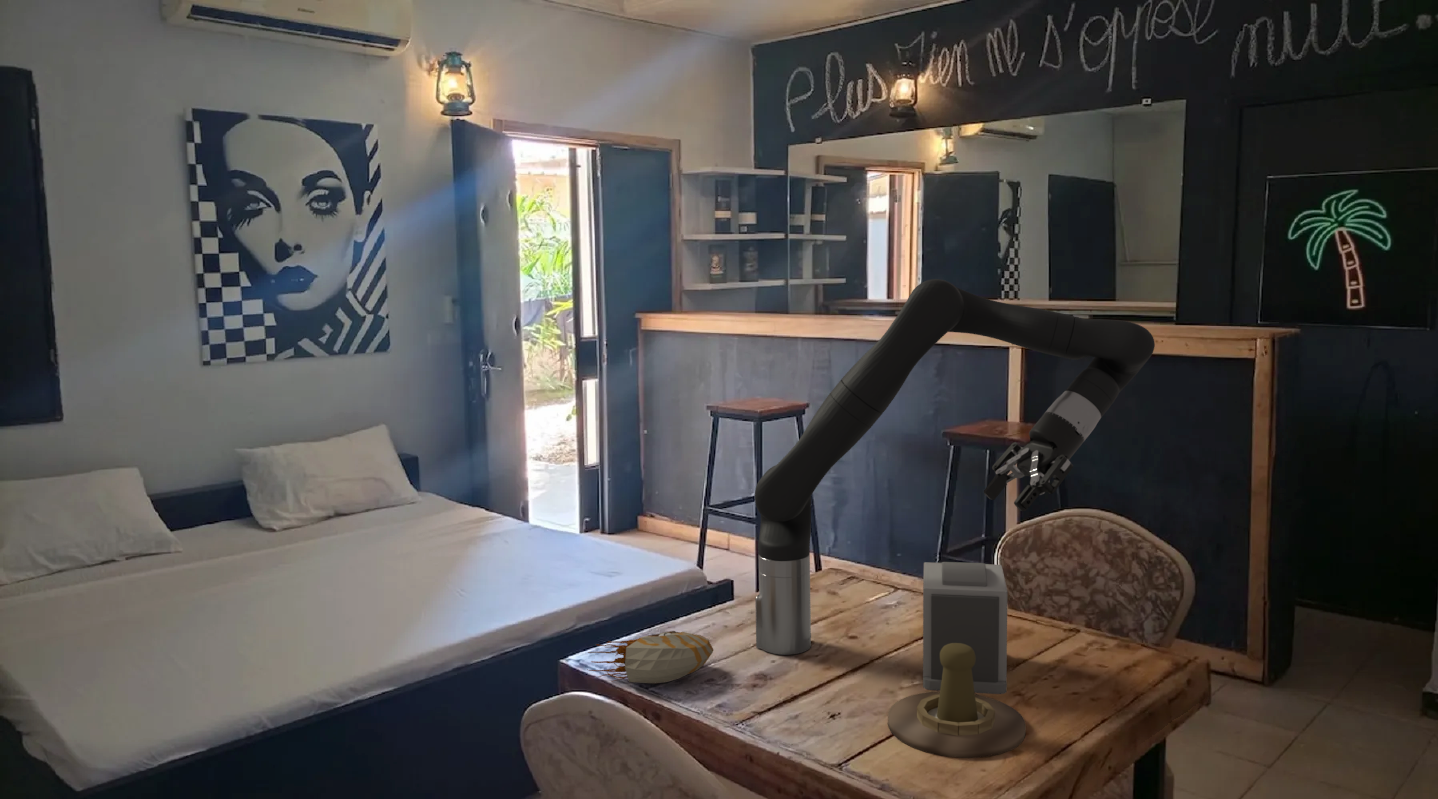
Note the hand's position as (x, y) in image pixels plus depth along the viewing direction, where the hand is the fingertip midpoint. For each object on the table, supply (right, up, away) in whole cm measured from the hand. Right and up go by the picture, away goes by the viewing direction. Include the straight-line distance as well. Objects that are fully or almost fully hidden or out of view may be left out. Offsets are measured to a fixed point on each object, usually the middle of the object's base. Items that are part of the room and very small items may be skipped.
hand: (1002, 502), depth 164 cm
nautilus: (-57, -31, +12) cm, 66 cm away
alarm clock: (-4, -30, +11) cm, 32 cm away
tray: (-10, -32, -10) cm, 35 cm away
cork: (-9, -31, -10) cm, 34 cm away
